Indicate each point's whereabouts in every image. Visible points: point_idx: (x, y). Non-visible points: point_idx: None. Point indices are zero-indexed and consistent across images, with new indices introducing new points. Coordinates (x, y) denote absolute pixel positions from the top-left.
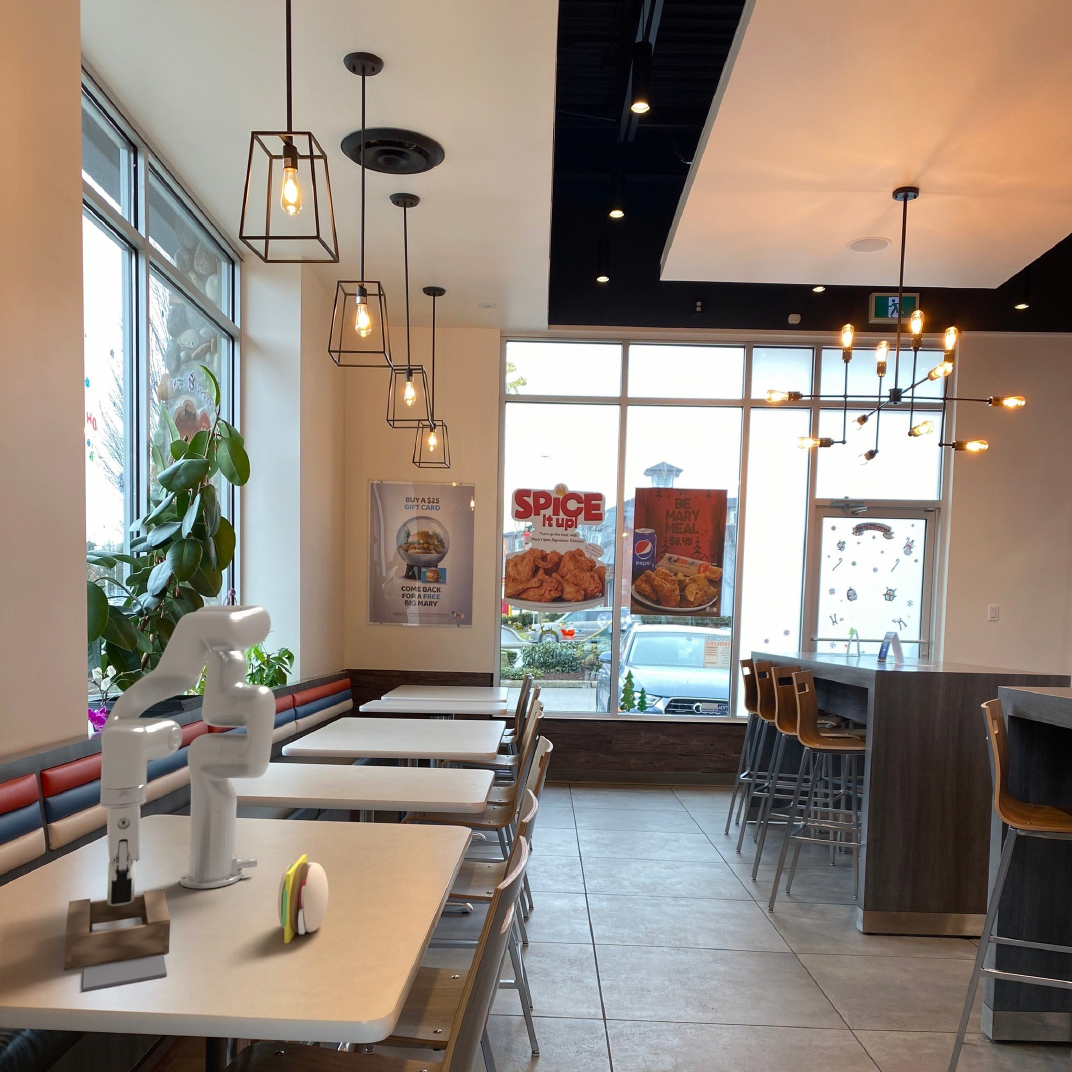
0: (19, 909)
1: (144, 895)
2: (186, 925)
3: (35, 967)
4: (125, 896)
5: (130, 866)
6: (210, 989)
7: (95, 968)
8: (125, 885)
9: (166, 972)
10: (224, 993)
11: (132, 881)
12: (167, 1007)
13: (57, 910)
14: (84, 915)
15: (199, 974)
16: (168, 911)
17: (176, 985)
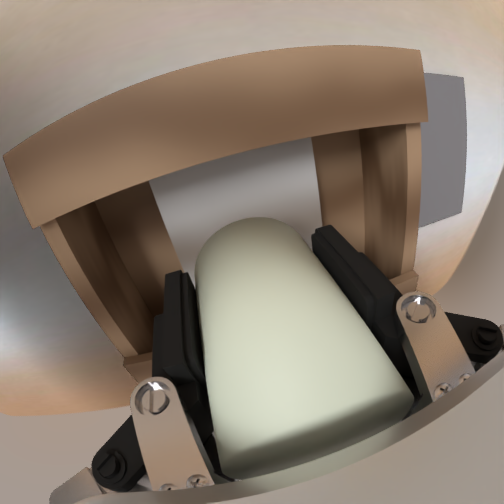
0: (62, 406)
1: (80, 206)
2: (132, 33)
3: None
4: (363, 256)
5: (466, 354)
6: (494, 31)
7: None
8: (394, 291)
9: (462, 77)
10: (500, 21)
11: (323, 282)
12: None
13: (48, 372)
14: None
15: (459, 25)
16: (341, 45)
17: (482, 69)
